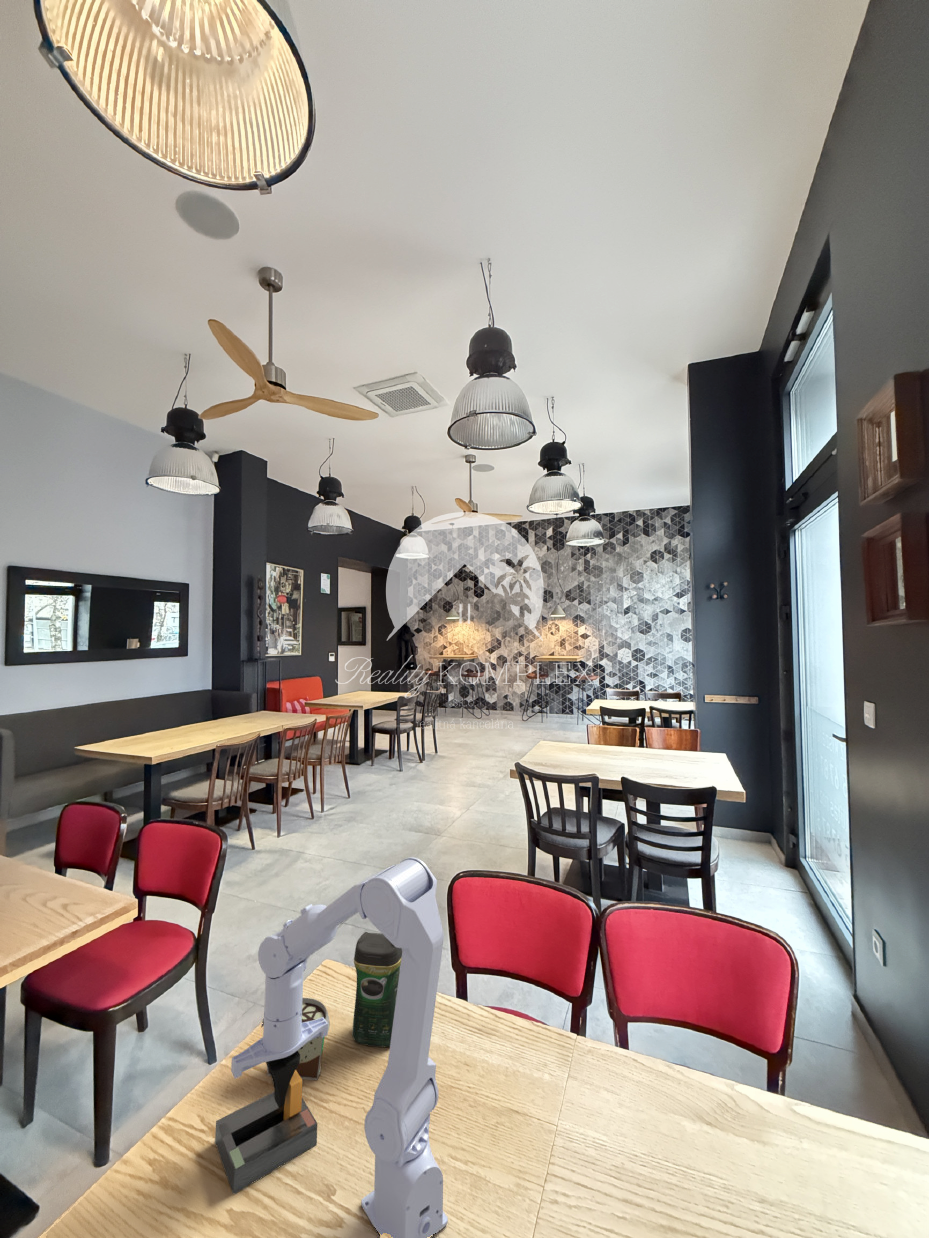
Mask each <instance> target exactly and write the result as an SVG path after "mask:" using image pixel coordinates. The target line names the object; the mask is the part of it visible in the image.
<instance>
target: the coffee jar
mask: <svg viewBox="0 0 929 1238" xmlns="http://www.w3.org/2000/svg"><path fill="white" fill-rule="evenodd" d="M401 959H402V949H401V948H396V947H395V946H394V945H393V944H392V943H391V942H390V941H389V940H388V939H387V938H386V937H385V936H384V935H383V934H382V933H381V932H379V933H378V932H368V931H365V932H363V933H362V934H361V936H360V937H359V938H358V939H357V941H356V944H355V950H354V957H353V964H354V968H355V972H356V987H355V988H356V989H355V990H356V991H355V1002H354V1009H353V1018H352V1028H351V1029H352V1034H351V1035H352V1038H353V1040H354V1041H355V1042H356V1043H358V1044H359V1045H363V1046H370V1047H383V1048H384V1047H385V1048H386V1047H390V1043H391V1035H392V1028H393V1020H394V1012H395V1005H396V997H397V989H398V982H399V974H400V966H401Z"/></svg>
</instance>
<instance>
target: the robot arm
mask: <svg viewBox="0 0 929 1238" xmlns="http://www.w3.org/2000/svg"><path fill="white" fill-rule="evenodd" d="M437 885H438V880H437V878H436V877H435V876H434V874H433V873H432V872H431V869H430V868H429V867H428V866H427V864H426V863H425V862H424V861H423V860H421V859H420V858H418V857H416V856H409V857H406V858H404V859H402V860H401V861H400V862H399V863H398V864H393V865H390V866H389V867H386V868H384V869H382V870H380V871H378V872H376V873H373V874H371V875H370V876H368V877H366V878H365V879H363V880H361V881H359V882H358V883H356V884H354V885H353V886H351V887H350V888H348V889H347V890H346V891H345V892H344V893H343V894H341V895H340V896H339V897H337V898H336V899H335V900H334V901H333V902H332V903H330V904H328V906H327V905H326V904H315V905H313V904H312V903H310V904H308V905H307V906H305V907H303V908H302V909H301V910H300V915H299V916H298V917H296V918H295V919H294V920H293V919H289V920H287V921H286V922H284V923H283V925H282V927H283V928H282V929H281V930H278V931H276V932H275V933H273V934H272V935H268V936H266V937H265V938H264V940H262V941H261V943H260V945H259V947H258V952H257V953H258V954H257V956H258V957H257V959H258V964H259V965H260V966H259V967H260V968H261V971H262V972H263V973H264V975H265V983H264V986H265V987H264V1005H263V1006H264V1007H263V1008H264V1009H263V1018H264V1026H263V1027H262V1028H263V1031H262V1033H263V1034H262V1037H261V1038H259V1039H258V1040H256V1041H255V1042H254V1043H253V1044H252V1045H250V1046H249V1047H247V1048H246V1049H245V1050H243V1051H241V1052H239V1053H238V1054H236V1055H235V1056H232V1057H231V1064H230V1065H231V1066H230V1070H231V1074H232V1076H233V1078H234V1079H237V1078H240V1077H242V1076H243V1073H244V1072H245V1071H248V1070H250V1069H252V1068H254V1067H256V1066H260V1065H261V1064H262V1063H265V1065H266V1067H267V1066H268V1069H269V1071H270V1074H271V1076H270V1077H271V1080H272V1081H271V1082H272V1084H273V1088H274V1089H273V1090H274V1091H273V1092H274V1098H275V1101H276V1103H277V1105H278V1107H279V1108H280V1107H282V1106H284V1105H285V1096H286V1093H287V1089H288V1086H289V1083H290V1081H291V1078H292V1076H293V1074H294V1072H295V1070H296V1068H297V1066H298V1065H299V1063H300V1054H299V1052H298V1051H297V1050H298V1049H300V1048H301V1047H302V1046H303V1045H305V1044H306V1043H307V1042H308V1041H310V1040H312V1039H314V1038H317V1037H319V1036H320V1037H321V1038H323V1037H327V1036H329V1035H328V1034H329V1033H328V1032H329V1031H328V1023H327V1021H326V1020H325V1019H324V1017H322V1018H319V1019H316V1020H313V1021H308V1022H303V1023H302V998H304V997H303V994H304V990H303V989H304V973H305V971H306V970H307V963H308V959H309V958H310V957H311V956H312V955H313V954H315V953H316V952H317V951H319V950H321V949H322V948H324V947H325V946H327V945H328V944H329V943H331V942H332V941H333V940H334V938H335V937H336V935H337V931H338V926H340V925H341V924H342V923H344V922H346V921H347V920H348V919H350V918H351V917H353V916H355V915H356V914H359V916H360V918H361V919H362V920H366V919H368V921H370V923H371V924H372V925H373V926H374V927H375V928H376V929H377V930H378V931H379V933H381V934H383V935H384V936H385V937H386V938H387V939H388V940H389V941H390V942H391V943H392V944H393V945H394V946H395V947H396V948H401V949H402V959H401V966H400V974H399V982H398V989H397V997H396V1005H395V1012H394V1020H393V1028H392V1035H391V1043H390V1046H389V1052H388V1059H387V1060H388V1061H387V1064H386V1069H385V1070H384V1073H383V1075H382V1077H381V1079H380V1081H379V1083H378V1085H377V1087H376V1089H375V1092H374V1094H373V1095H374V1096H373V1101H372V1102H373V1103H372V1105H371V1107H370V1108H369V1110H368V1111H367V1113H366V1115H365V1119H364V1124H363V1125H364V1126H363V1127H364V1128H363V1129H364V1134H365V1139H366V1142H367V1144H368V1146H369V1148H370V1150H371V1152H372V1153H373V1154H374V1190H372V1191H371V1192H369V1193H368V1194H367V1195H365V1196H364V1197H363V1198H362V1199H361V1207H362V1209H363V1210H364V1213H365V1214H366V1216H367V1217H368V1219H369V1221H370V1223H371V1225H372V1226H373V1228H374V1227H375V1228H376V1229H375V1228H374V1229H375V1231H376V1230H377V1231H378V1232H379V1233H380V1234H381V1235H382V1234H383V1233H387V1234H390V1235H391V1237H393V1238H427V1237H430V1236H431V1235H433V1234H435V1233H436V1234H437V1233H438V1232H440V1231H441V1230H442V1229H443V1228H444V1227H446V1226H447V1225H448V1223H449V1222H448V1221H449V1218H448V1216H447V1214H446V1213H445V1212H444V1177H443V1172H442V1170H441V1167H439V1164H438V1163H437V1161H436V1160H435V1157H434V1154H433V1153H432V1148H431V1143H430V1138H429V1137H430V1128H429V1127H430V1123H431V1113H432V1111H434V1110H435V1109H436V1108H437V1107H436V1106H437V1104H438V1101H439V1096H440V1095H439V1087H438V1084H437V1078H436V1069H437V1064H436V1062H435V1061H433V1059H432V1058H431V1057H430V1047H431V1039H432V1034H433V1033H432V1032H433V1024H434V1015H435V1008H436V1001H437V993H438V985H439V977H440V976H439V975H440V970H441V961H442V953H443V947H444V946H443V945H444V929H443V925H442V921H441V920H442V919H441V916H440V911H439V907H438V902H437V899H436V898H437V897H436V895H437ZM439 1230H440V1231H439ZM377 1231H376V1232H377ZM436 1234H435V1235H436Z"/></svg>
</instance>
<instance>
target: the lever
mask: <svg viewBox="0 0 929 1238" xmlns="http://www.w3.org/2000/svg"><path fill="white" fill-rule="evenodd" d="M302 1098H303V1079H301V1077H300V1076H299V1074H298V1072H297V1071H296V1070H295V1072H294V1074H293V1076H292V1078H291V1081H290V1083H289V1086H288V1089H287V1093H286V1096H285V1105H284V1120H286V1119H288V1118H290V1117H292V1116H294V1115H295V1114H297V1113H299V1112H300V1111H301V1108H302ZM284 1120H283V1121H284Z"/></svg>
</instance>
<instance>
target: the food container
mask: <svg viewBox="0 0 929 1238" xmlns="http://www.w3.org/2000/svg"><path fill="white" fill-rule="evenodd" d="M322 1017H324V1019H325V1020H326V1021H327V1023H328V1032H329V1030H330V1015H329V1013H328V1009H327V1007H326V1006H325V1004H324V1003H323V1002H321V1001H319V1000H318V999H315V998H312V997H303V998H302V1023H303V1022H308V1021H313V1020H316V1019H319V1018H322ZM262 1023H263V1024H262ZM261 1028H264V1017H263V1018H262V1021H261ZM325 1037H326V1036H325ZM325 1037H323V1038H321V1037H320V1036H319V1037H317V1038H314V1039H312V1040H310V1041H308V1042H307V1043H306V1044H305V1045H303V1046H302V1047H301V1048H300V1049H298V1050H297V1051H298V1052H299V1054H300V1063H299V1065H298V1066H297V1068H296V1071H297V1072H298V1074H299V1076H300V1077H301V1079H302V1080H311V1081H319V1079H320V1076H321V1068H322V1060H323V1053H324V1044H325ZM266 1076H267V1077H268V1076H269V1077H271V1074H270V1071H269V1069H268V1066H267V1065H266Z"/></svg>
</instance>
